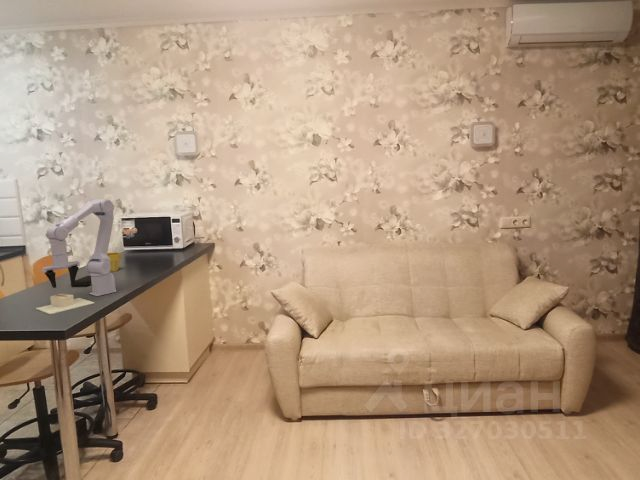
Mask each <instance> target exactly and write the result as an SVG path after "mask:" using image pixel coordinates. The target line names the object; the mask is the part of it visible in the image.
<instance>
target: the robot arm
mask: <svg viewBox="0 0 640 480" xmlns="http://www.w3.org/2000/svg"><path fill="white" fill-rule="evenodd" d="M114 209H115V205H114V203H113V201H112V200H111V199H109V198H102V199H101V198H99V199H98V198H92V199H90V200H89V201H87V202H86V203H85V205H83V207H81V208H80V209H79V210H78V211H77V212H76V213H75V214H73V215H65V216H64V217H63V219H61V220H60V221H59V222H56V223H55V226H50V227H48V228H47V230H46V233H45V237H46V238H47V239H48V241H49V244H50V245H49V246H50V251H51V258H52V264H51V265H48V266H44V267H41V272H42V273H44V275H45V277H47V278H48V280H49V282H50V284H51V287H52V288H53V289H56V288H57V282H56V272H55V271H57V270H58V271H59V270H64V269H68V272H69V279H70V280H69V281H70V284H71V283H72V284H75V280H76V277H77V275H78V272H79V267H80V265H81V264H80V261H78V260H76V261H69V258H68V257H69V256H68V250H67V242H66V241H67V240H66V239H67V238H68V237H69V234H70V233H71V232H72V231H74V229H76V228H77V227H78V226H79V222H80V221H81V220H83V219H85V218H87V217H88V216H89V215H91V214H93V215H95V216H96V217H97V218H98V219H99V226H98V231H97V235H96V236H97V237H96V241H95V247H94V253H93V254H91V256H89V258H88V261H87V262H86V264H85V265H86V266H85V270H86V272H87V273H88V274H89V276H91V282H92V285H91V289H92V291H91V292H89V295H91V296H95V297H99V296H103V295H104V296H105V295H108V294H112V293H117V290H116V281H115V280H116V279H115V277H114V274H113V273H112V272H110V270H111V265H110V261H111V259H110V258H109V257H108V256H107V253H109V252H108V250H109V246H110V242H111V241H110V240H111V237H112V236H111V235H112V232H113V231H112V229H113V224H114V220H115V218H114Z"/></svg>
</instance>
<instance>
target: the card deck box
mask: <svg viewBox="0 0 640 480" xmlns="http://www.w3.org/2000/svg"><path fill="white" fill-rule="evenodd" d="M49 298H50V305H51V306H57V307H63V308H64V307H67V306H70V305H74V299H75V298H74V294H66V293H58V294H55V295H51V296H50V297H49Z"/></svg>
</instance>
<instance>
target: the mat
mask: <svg viewBox="0 0 640 480" xmlns="http://www.w3.org/2000/svg"><path fill="white" fill-rule="evenodd" d="M93 304H94V305H95V301H91V300H88V299H84V298H81V297H78V298H74V305H70V306H67V307H64V308H63V307H57V306H51V304H48V305H43V306H40V307H36V308H35V309H36V310H37V311H40V312H42V313H45V314H48V315H49V316H50V315H55V314H59V313H63V312H66V311H70V310H74V309H79V308H82V307H85V306H90V305H93Z"/></svg>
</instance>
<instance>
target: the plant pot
mask: <svg viewBox="0 0 640 480" xmlns="http://www.w3.org/2000/svg"><path fill="white" fill-rule="evenodd" d="M121 255H122V254H121V253H120V252H116V251H115V252H107V256H108V257H109V258H110V259H111V261H110V265H111V270H110V272H109V273H112V272H117V271H119V269H120V262H121V261H120V260H121V259H122V257H121Z"/></svg>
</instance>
